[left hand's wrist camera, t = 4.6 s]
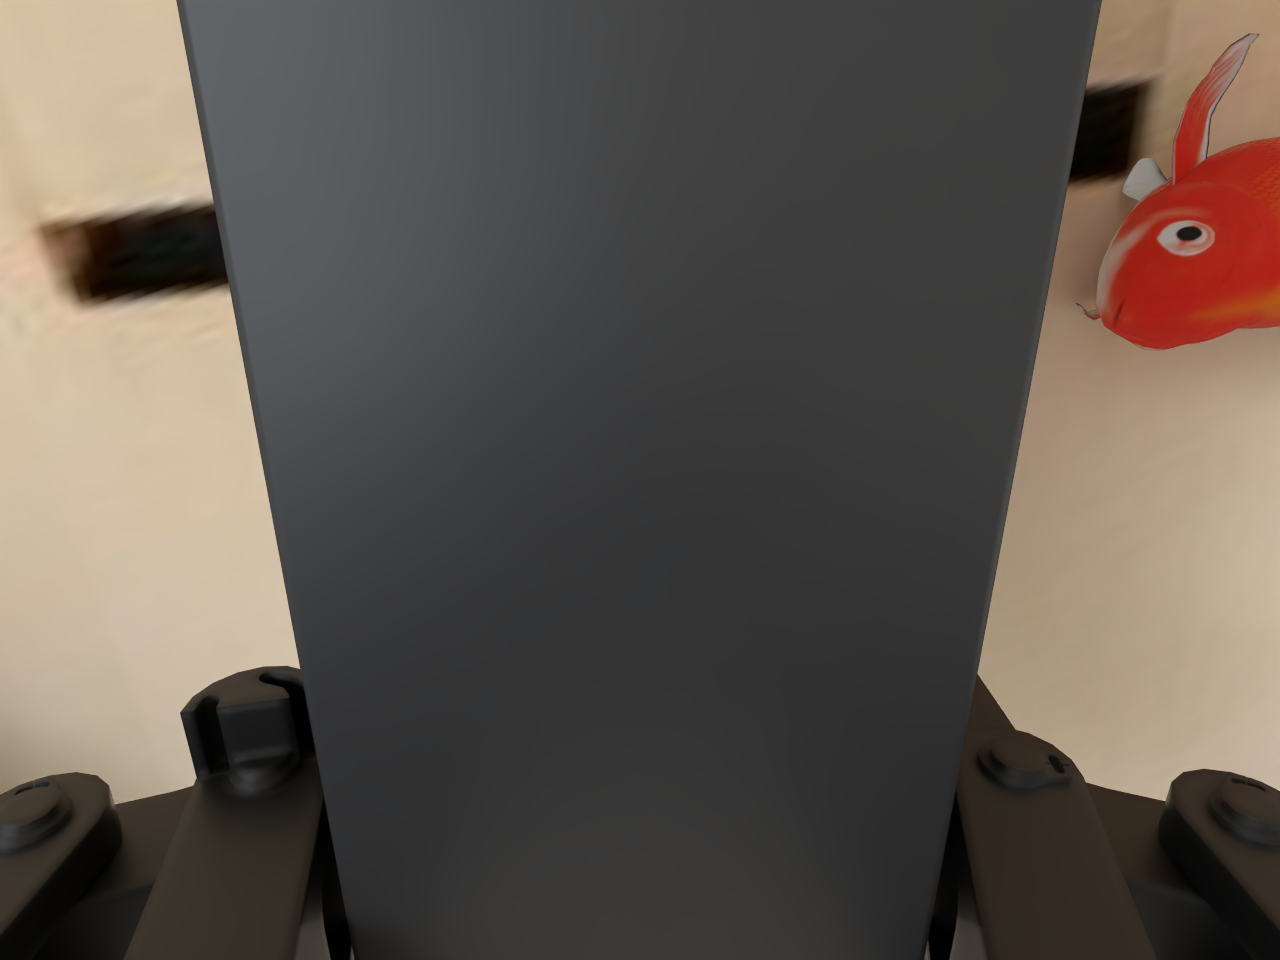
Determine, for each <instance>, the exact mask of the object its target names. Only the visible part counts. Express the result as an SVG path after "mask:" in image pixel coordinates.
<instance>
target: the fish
mask: <svg viewBox="0 0 1280 960" xmlns="http://www.w3.org/2000/svg"><path fill="white" fill-rule="evenodd" d="M1259 35H1260V34H1248V35H1246V36H1244V37H1243V38H1241V39H1240V40H1238V41H1236V42H1235V43H1233V44H1231V45H1230V46H1229V47H1228V48H1227V50H1226V51H1225V52H1224V53H1223V54H1222V55H1221V57H1220V58H1219V59H1218V60H1217V61H1216V62H1215V63H1214V65H1213V66H1212V68H1211V70H1210V72H1209V74H1208V75H1207V76H1206V77H1205V78H1204V79H1203V80H1202V82H1201V83H1200V84H1199V85H1198V86H1197V88H1196V89H1195V91H1194V92H1193V94H1192V96H1191V97H1190V99H1189V100H1188V102H1187V104H1186V107H1185V110H1184V113H1183V116H1182V119H1181V122H1180V124H1179V127H1178V130H1177V133H1176V136H1175V138H1174V142H1173V162H1172V177H1171V178H1169V179H1168V180H1167V179H1166V177H1165V176H1164V175H1163V174H1162V172H1161V170H1160V169H1159V167H1158V165H1157V163H1156V162H1155V160H1153V159H1151V158H1142V159H1141V160H1139V161H1138V162H1137V163H1136V165H1135V166H1134V167H1133V169H1132V171H1131V173H1130V174H1129V176H1128V178H1127V180H1126V182H1125V184H1124V185H1123V190H1122V192H1123V193H1124V194H1125V195H1126V196H1128V197H1131V198H1133V199H1136V200H1137V201H1139V202H1138V203H1137V204H1136V205H1135V206H1134V207H1133V209H1132V210H1131V211H1130V213H1129V214H1128V215H1127V216H1126V217H1125V218H1124V219H1123V221H1122V223H1121V225H1120V226H1119V228H1118V230H1117V232H1116V233H1115V235H1114V237H1113V238H1112V240H1111V243H1110V245H1109V247H1108V249H1107V251H1106V254H1105V256H1104V259H1103V261H1102V264H1101V267H1100V270H1099V276H1098V284H1097V296H1096V306H1097V309H1098V310H1094V311H1090V312H1087V311H1086V310H1085V309H1084V308H1083V307H1082V306H1081V305H1079V304H1077V303H1076V304H1077V305H1078V307H1079V308H1080V309H1081V311H1082V312H1083V313H1084V314H1085V315H1086V316H1088V317H1089V318H1091V319H1093V320H1095V319H1098V318H1100V317H1101V319H1102V321H1103V324H1104V326H1105V327H1107V328H1108V329H1110V330H1111V331H1112V332H1114V333H1115V334H1117V335H1119V336H1121V337H1123V338H1125V339H1126V340H1128V341H1130V342H1132V343H1133V344H1135V345H1136V346H1138V347H1141V348H1143V349H1148V350H1164V349H1169V348H1173V347H1177V346H1180V345H1184V344H1191V343H1199V342H1203V341H1207V340H1211V339H1213V338H1216V337H1219V336H1222V335H1224V334H1226V333H1229V332H1231V331H1233V330H1235V329H1237V328H1267V327H1276V326H1280V137H1277V138H1270V139H1263V140H1256V141H1250V142H1247V143H1243V144H1240V145H1237V146H1234V147H1231V148H1228V149H1225V150H1223V151H1221V152H1219V153H1216V154H1214V155H1212V156H1210V157H1207V151H1208V145H1209V129H1210V122H1211V116H1212V114H1213V112H1214V110H1215V108H1216V106H1217V104H1218V102H1219V101H1220V99H1221V98H1222V96H1223V94H1224V93H1225V91H1226V90H1227V88H1228V87H1229V85H1230V84H1231V82H1232V81H1233V79H1234V78H1235V76H1236V74H1237V72H1238V71H1239V69H1240V67H1241V65H1242V64H1243V61H1244V59H1245V56H1246V54H1247V52H1248V49H1249V47H1250V44H1251V43H1252V42H1253V41H1254V40H1255V39H1256V38H1257V37H1258V36H1259Z"/></svg>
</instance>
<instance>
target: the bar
mask: <svg viewBox="0 0 1280 960" xmlns="http://www.w3.org/2000/svg"><path fill="white" fill-rule="evenodd" d="M176 1H177V6H178V11H179V17H180V22H181V28H182V33H183V38H184V44H185V49H186V55H187V60H188V65H189V71H190V76H191V82H192V87H193V92H194V98H195V103H196V109H197V114H198V119H199V125H200V130H201V135H202V141H203V146H204V152H205V157H206V162H207V168H208V173H209V179H210V184H211V189H212V195H213V200H214V206H215V211H216V216H217V222H218V227H219V232H220V238H221V243H222V249H223V254H224V259H225V265H226V270H227V276H228V281H229V286H230V292H231V297H232V303H233V308H234V313H235V319H236V324H237V330H238V335H239V340H240V346H241V351H242V356H243V362H244V367H245V373H246V378H247V383H248V389H249V394H250V400H251V405H252V410H253V416H254V421H255V427H256V432H257V437H258V443H259V448H260V453H261V459H262V464H263V470H264V475H265V480H266V486H267V491H268V497H269V502H270V507H271V513H272V518H273V524H274V529H275V534H276V540H277V545H278V551H279V556H280V561H281V567H282V572H283V577H284V583H285V588H286V594H287V599H288V604H289V610H290V615H291V621H292V626H293V631H294V637H295V642H296V648H297V653H298V658H299V664H300V669H301V675H302V680H303V685H304V691H305V696H306V701H307V707H308V712H309V718H310V723H311V728H312V734H313V739H314V745H315V750H316V755H317V761H318V766H319V772H320V777H321V782H322V788H323V793H324V798H325V804H326V809H327V815H328V820H329V825H330V831H331V836H332V842H333V847H334V852H335V858H336V863H337V869H338V874H339V879H340V885H341V890H342V896H343V901H344V906H345V912H346V917H347V922H348V928H349V933H350V939H351V944H352V949H353V955H354V960H924V958H925V953H926V947H927V942H928V937H929V931H930V926H931V920H932V915H933V910H934V904H935V899H936V893H937V888H938V883H939V877H940V872H941V866H942V861H943V856H944V850H945V845H946V839H947V834H948V829H949V823H950V818H951V812H952V807H953V802H954V796H955V791H956V785H957V780H958V775H959V769H960V764H961V758H962V753H963V748H964V742H965V737H966V731H967V726H968V721H969V715H970V710H971V704H972V699H973V694H974V688H975V683H976V677H977V672H978V667H979V661H980V656H981V650H982V645H983V640H984V634H985V629H986V623H987V618H988V612H989V607H990V602H991V596H992V591H993V585H994V580H995V575H996V569H997V564H998V558H999V553H1000V548H1001V542H1002V537H1003V531H1004V526H1005V521H1006V515H1007V510H1008V504H1009V499H1010V494H1011V488H1012V483H1013V477H1014V472H1015V467H1016V461H1017V456H1018V450H1019V445H1020V440H1021V434H1022V429H1023V423H1024V418H1025V413H1026V407H1027V402H1028V396H1029V391H1030V386H1031V380H1032V375H1033V369H1034V364H1035V359H1036V353H1037V348H1038V342H1039V337H1040V332H1041V326H1042V321H1043V315H1044V310H1045V305H1046V299H1047V294H1048V288H1049V283H1050V277H1051V272H1052V267H1053V261H1054V256H1055V250H1056V245H1057V240H1058V234H1059V229H1060V223H1061V218H1062V213H1063V207H1064V202H1065V196H1066V191H1067V186H1068V180H1069V175H1070V169H1071V164H1072V159H1073V153H1074V148H1075V142H1076V137H1077V132H1078V126H1079V121H1080V115H1081V110H1082V105H1083V99H1084V94H1085V88H1086V83H1087V78H1088V72H1089V67H1090V61H1091V56H1092V51H1093V45H1094V40H1095V34H1096V29H1097V24H1098V18H1099V13H1100V7H1101V2H1102V0H176Z"/></svg>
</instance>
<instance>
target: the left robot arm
mask: <svg viewBox="0 0 1280 960" xmlns="http://www.w3.org/2000/svg"><path fill="white" fill-rule="evenodd" d="M180 714H181V718H182V722H183V726H184V730H185V734H186V737H187V741H188V745H189V749H190V753H191V757H192V761H193V765H194V768H195V772H196V776H197V779H196V781H195V784H194V786H191V787H188V788H184V789H181V790H177V791H174V792H170V793H165V794H161V795H156V796H152V797H147V798H143V799H138V800H134V801H129V802H125V803H120V804H116V805H115V804H114V801H113V798H112V794H111V791H110V788H109V785H108V784H106V783H105V782H104V781H103V780H102V779H100V778H99V777H98V776H96V775H90V774H84V773H78V772H75V773H67V774H59V775H51V776H47V777H44V778H41V779H36V780H34V781H30V782H27V783H25V784H22V785H19V786H17V787H15V788H13V789H11V790H9V791H7V792H5V793H3V794H1V795H0V960H354V955H353V949H352V944H351V939H350V933H349V928H348V922H347V917H346V912H345V906H344V901H343V896H342V890H341V885H340V879H339V874H338V869H337V863H336V858H335V852H334V847H333V842H332V836H331V831H330V825H329V820H328V815H327V809H326V804H325V798H324V793H323V788H322V782H321V777H320V772H319V766H318V761H317V755H316V750H315V745H314V739H313V734H312V728H311V723H310V718H309V712H308V707H307V701H306V696H305V691H304V685H303V680H302V675H301V669H297V668H293V667H289V666H271V667H260V668H256V669H251V670H247V671H242V672H238V673H236V674H233V675H231V676H228V677H226V678H224V679H221V680H219V681H217V682H214V683H212V684H211V685H209V686H208V687H207V688H205V689H204V690H202V691H201V692H199V693H198V694H196V695H195V696H193V697H192V699H191V700H190V701H189V702H188V704H187V705H186V706H185V707H184V709H183V710H182V711H181V712H180ZM924 960H1280V791H1278V790H1276V789H1274V788H1272V787H1270V786H1268V785H1266V784H1265V783H1263V782H1260V781H1257V780H1254V779H1252V778H1247V777H1245V776H1242V775H1238V774H1235V773H1232V772H1225V771H1217V770H1209V769H1200V770H1194V771H1188V772H1183V773H1182V774H1181V775H1179V776H1178V777H1177V778H1176V779H1175V780H1174V781H1172V782H1171V786H1170V789H1169V792H1168V795H1167V799H1166V802H1165V801H1161V800H1156V799H1152V798H1147V797H1143V796H1138V795H1134V794H1129V793H1125V792H1120V791H1116V790H1111V789H1107V788H1103V787H1100V786H1096V785H1093V784H1090V783H1086V782H1085V780H1084V777H1083V776H1082V774H1081V773H1080V771H1079V770H1078V768H1077V767H1076V765H1075V764H1074V763H1073V761H1072V760H1071V759H1070V758H1069V757H1067V756H1066V755H1065V754H1064V753H1062V752H1061V751H1060V750H1059V749H1057V748H1056V747H1055V746H1053V745H1052V744H1050V743H1048V742H1046V741H1044V740H1042V739H1040V738H1037V737H1035V736H1033V735H1031V734H1029V733H1026V732H1022V731H1018V730H1015V728H1014V727H1013V725H1012V724H1011V722H1010V721H1009V719H1008V718H1007V717H1006V715H1005V714H1004V712H1003V711H1002V709H1001V708H1000V706H999V705H998V703H997V702H996V700H995V699H994V698H993V696H992V695H991V693H990V692H989V690H988V689H987V687H986V686H985V684H984V683H983V681H982V680H981V679H980V677H979V676H978V674H977V677H976V683H975V688H974V694H973V699H972V704H971V710H970V715H969V721H968V726H967V731H966V737H965V742H964V748H963V753H962V758H961V764H960V769H959V775H958V780H957V785H956V791H955V796H954V802H953V807H952V812H951V818H950V823H949V829H948V834H947V839H946V845H945V850H944V856H943V861H942V866H941V872H940V877H939V883H938V888H937V893H936V899H935V904H934V910H933V915H932V920H931V926H930V931H929V937H928V942H927V947H926V953H925V958H924Z"/></svg>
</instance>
